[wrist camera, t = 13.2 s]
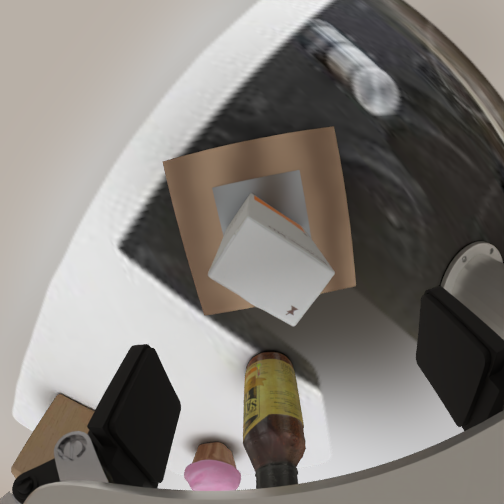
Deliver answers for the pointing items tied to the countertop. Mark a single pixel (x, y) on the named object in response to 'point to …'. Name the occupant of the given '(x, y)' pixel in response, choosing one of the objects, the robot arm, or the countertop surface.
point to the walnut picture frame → (268, 190)
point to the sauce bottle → (272, 420)
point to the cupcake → (213, 469)
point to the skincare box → (270, 262)
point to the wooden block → (52, 433)
